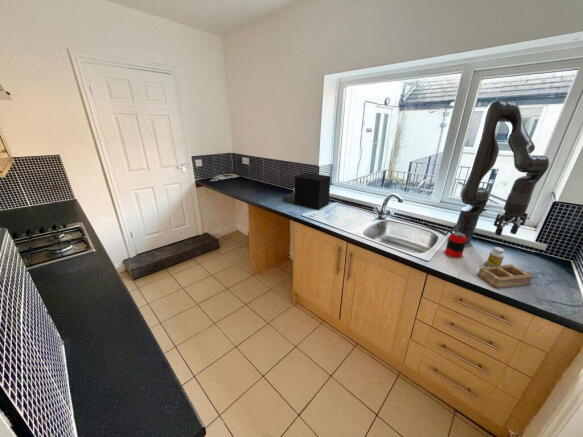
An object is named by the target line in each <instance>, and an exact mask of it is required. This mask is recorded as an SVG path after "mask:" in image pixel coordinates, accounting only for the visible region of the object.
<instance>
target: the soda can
mask: <svg viewBox="0 0 583 437" xmlns="http://www.w3.org/2000/svg"><path fill="white" fill-rule="evenodd" d="M466 241H467V237H466V235H465V234H463V233H460V232H453V233H452V234H451V233H449V237H448V240H447V244H446V247H445V251H444V253H445V254H446V256H448V257H452V258H455V259H459V258H462V256H463V252H464V251H465V247H466V246H465V244H466Z"/></svg>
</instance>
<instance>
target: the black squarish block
mask: <svg viewBox="0 0 583 437" xmlns="http://www.w3.org/2000/svg"><path fill="white" fill-rule="evenodd" d="M331 179H332V178H331V175H323V174H318V173H311V172H305V173H302V174H299V175H296V176H294V187H293V192H291V193H289V194H287V195H284V196H282V202H285V203H289V204H294V206H295V205H296V206H298V207H299V206H300V207H304V208H308V209H311V210H315V211H320V210H321V209H323V208H324V207H327V206H328V205H329V204H330V191H331Z"/></svg>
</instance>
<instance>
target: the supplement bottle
mask: <svg viewBox="0 0 583 437" xmlns="http://www.w3.org/2000/svg"><path fill="white" fill-rule="evenodd" d="M504 253H505V249H504V248H502V247H499V246H494V247H493V249H492V250H491V251H490V252H489V254H488V258H487V260H486V263H485V264H486V265H487V267H492V266H501V265H502V263H503V261H504V258H505V254H504Z"/></svg>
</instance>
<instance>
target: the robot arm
mask: <svg viewBox="0 0 583 437" xmlns="http://www.w3.org/2000/svg"><path fill="white" fill-rule="evenodd" d="M498 123H505V124H506V125H507V127H508V134H507V145H508V146H509V149H510V150H511V153H512V155H513V166H514V168H515V170H517V172H519V173H523V174H524V175H523V176H520V177H517V178H515V179H514V181H513V183H512V187H511V188H510V189H511V190H510V191H509V193H508V195H507V198H506V201H505V204H504V207H503V210H504V212H503V214H502V213H497V215H496V217H495V220H494V222H493V226H494V227H496V228H495V231H494V234H495V235H496V236H498V237H499V236H502V233H503V231H504V228H505V227H506V226H508V225H509V224H512V226H511V227H510V228H511V229H510V231H509V233H510V234H512V235H517V233H518V231H519V228H521V227H522V226H525V224H526V221H527V219H528V216H529V214H528V213H527V210H528V208H529V204H530V202H531V200H532V196H533V192H534V190H535V187H536V185H537V183H538V182H539V181H540V180H541V179H542V177H543V176H544V175H545V173H546V172H547V171H548V169H549V167H550V159H549V158H548V156H546V155H531V154H532V153H533V152H534V151H535V149H536V145H535V144H534V142H533V140H532V138H531V137H530V135H529V133H528V131H527V129H526V127H525V123H524V119H523V115H522V112H521V108H520V106H519V104H518V103H517V101H514V100H494V101H492V102H491V103H489V105H488V106H487V108H486V110H485V113H484V117H483V123H482V128H481V133H480V137H479V141H478V144H477V148H476V151H475V154H474V157H473V161H472V164H471V168H470V171H469V174H468V177H467V179H466V181H465V184H464V186H463V189H462V191H461V195H460V199H461V202H462V203H463V204H464V205H466V206H464V207H462V208H460V210H459V213H458V217H457V220H456V224H454V225H453V228H452V229H451V228H450V229H449V230H447V231H446V232H443V231H442V230H440V229H438V228H436V227H433V226H431V224H429V223H428V222H424V223H423V224H424V225H427V226H428V227H429V228H431V229H433V230H435V231H436V232H439V233H440V234H442V235H444V236H445V235H446V236H447V235H449V234H452V233H453V232H460V233H463V234H465V235H466V237H467V241H466V244H465V247H469V246H470V245H471V243H472V240H473V236H474V234H475V231H476V229H477V225H478V223H479V222H478V221H479V218H480V216H481V215H482V214H483V212H484V210H485V207H486V205H487V202H488V200H489V190H488V189H486V188H485V187H483V186H482V187H480V184H481V183H482V182H481V181H482V180H483V179H484V177H485V176H486V175H487V174H488V173H489V172H490V171H491V170H492V169H493V167H494V166H495V165H496V162H497V159H498V157H499V153H500V147H499V142H498V140H497V137H496V136H497V135H496V131H497V126H498ZM426 223H427V224H426Z"/></svg>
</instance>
